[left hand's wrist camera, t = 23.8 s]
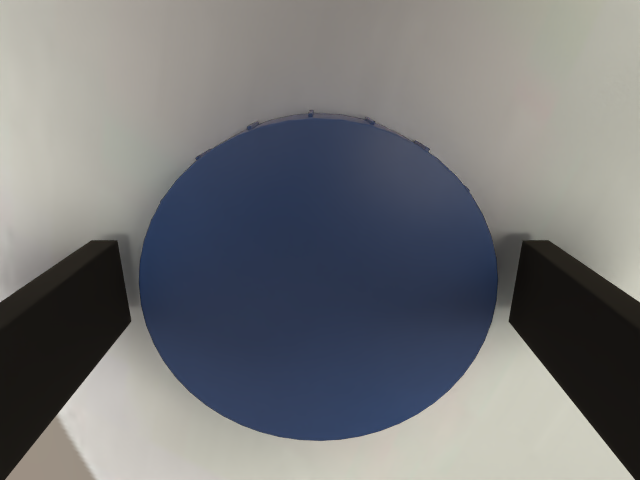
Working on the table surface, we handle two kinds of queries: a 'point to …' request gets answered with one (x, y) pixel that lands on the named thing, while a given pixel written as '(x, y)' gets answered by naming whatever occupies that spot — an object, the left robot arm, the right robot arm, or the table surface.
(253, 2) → the table surface
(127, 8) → the table surface
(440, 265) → the lid
